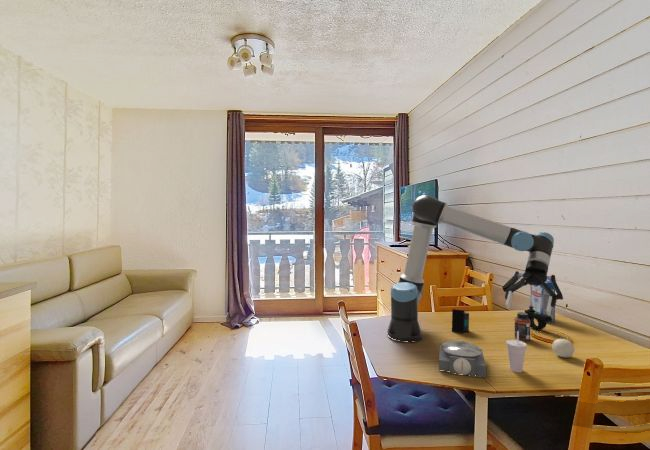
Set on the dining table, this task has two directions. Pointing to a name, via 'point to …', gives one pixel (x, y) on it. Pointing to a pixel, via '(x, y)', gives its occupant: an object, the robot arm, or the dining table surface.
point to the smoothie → (516, 354)
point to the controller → (537, 318)
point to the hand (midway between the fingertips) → (526, 310)
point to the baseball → (563, 348)
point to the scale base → (462, 364)
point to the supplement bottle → (522, 326)
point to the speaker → (460, 321)
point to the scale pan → (461, 349)
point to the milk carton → (542, 299)
